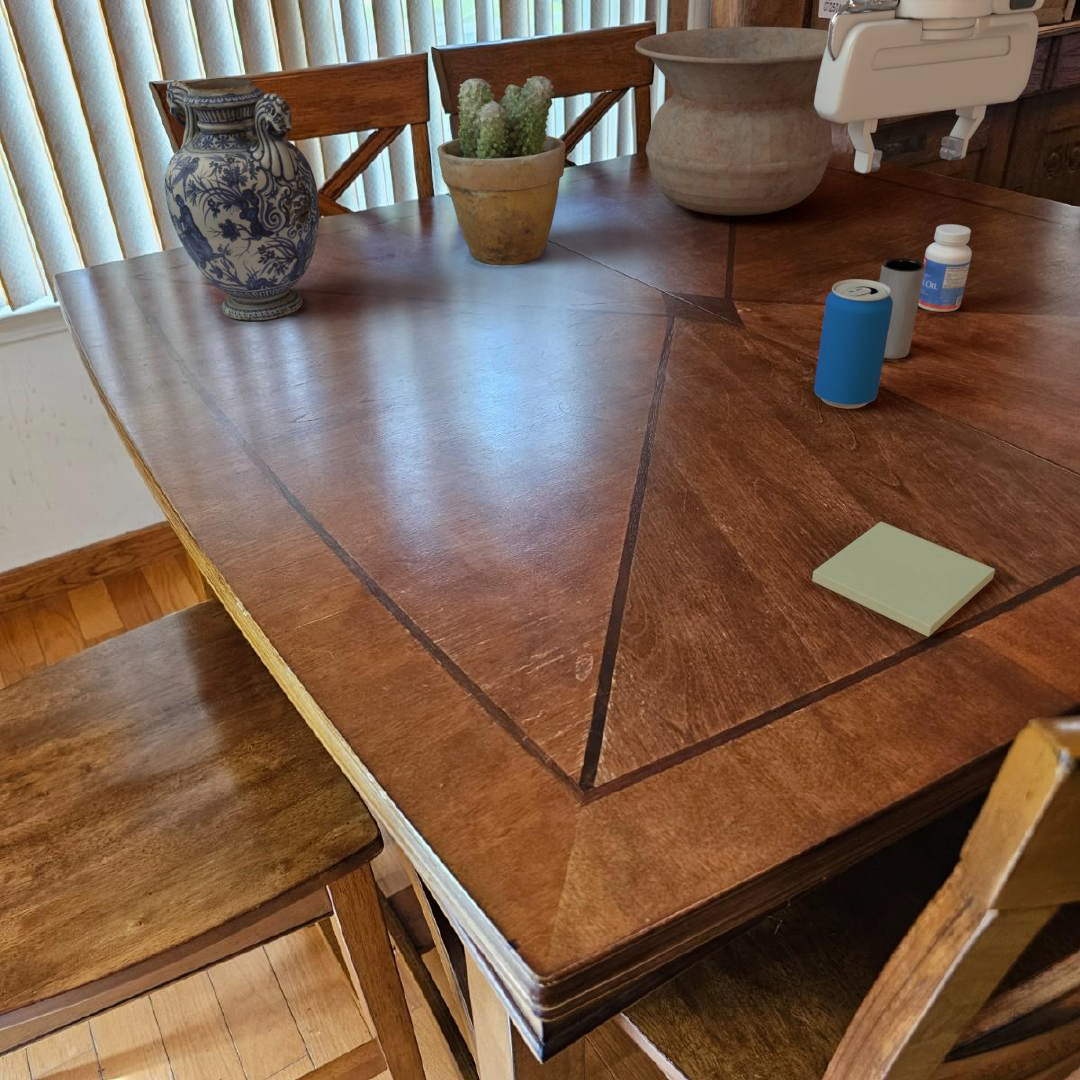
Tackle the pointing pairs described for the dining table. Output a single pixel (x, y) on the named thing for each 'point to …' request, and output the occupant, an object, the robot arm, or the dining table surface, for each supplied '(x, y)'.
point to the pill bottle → (946, 269)
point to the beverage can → (853, 343)
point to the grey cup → (902, 302)
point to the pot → (738, 118)
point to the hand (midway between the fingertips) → (909, 164)
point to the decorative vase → (242, 195)
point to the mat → (904, 577)
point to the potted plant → (504, 170)
